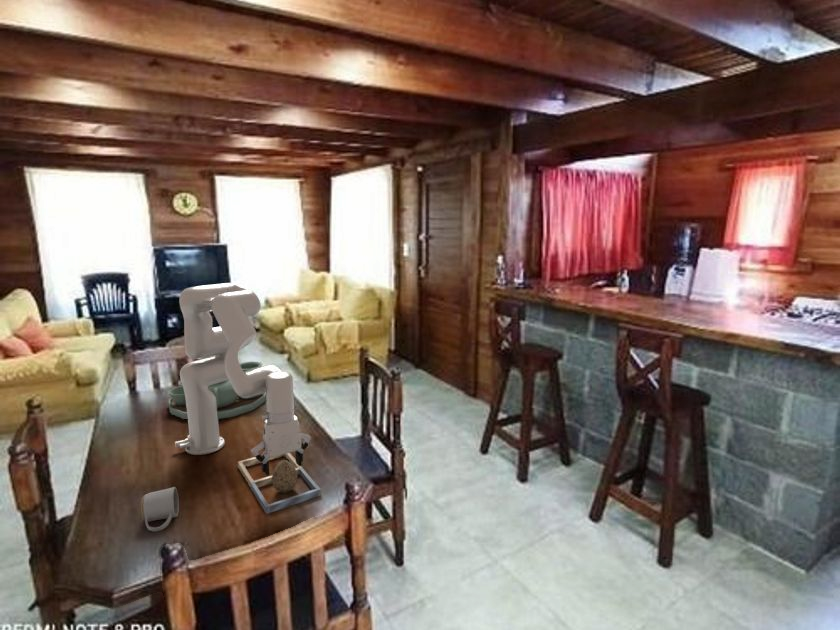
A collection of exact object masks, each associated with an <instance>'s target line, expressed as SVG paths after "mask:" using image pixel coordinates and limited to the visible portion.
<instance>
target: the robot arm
mask: <svg viewBox="0 0 840 630" xmlns="http://www.w3.org/2000/svg"><path fill="white" fill-rule="evenodd" d="M178 301H179V308H180V311H181V313H182V316H183V321H184V323H183V324H184V327H183V328H184V329H183V333H184V339H183V340H184V351H185V354H186V356H187V357H188V358H189V359H192V360H193V361H189V362H188V363H185V364H184V365H183V366H182V367H181V368H180V371H179V376H180V377H179V378H180V381H181V382H182V385H183V388H184V393H185V399H186V407H187V416H188V420H187V425H188V435H187V438H184V439H182V440H177V441H174V447H175V448H178V447H179V448H180V449H184V448H185V452H187V454H190V455H194V456H197V455H198V456H201V455H207V454H211V453H214V452H216V451H219V450H221V449H222V448H223V447H224V446H225V443H226V442H225V439H224V438H223V437H222V436H220V426H219V419H218V415H217V403H216V397H215V395H214V394H213V393H212V392H211V391H210V390H209V389H208V387H209V386H211V385H213V384H217V383H220V382H224V381H227V380H229V381H230V383H231V385H232V387H233V389H234V391H235V392H236V393H237V395H239V396H240V397H242V398H249V397H253V396H256V395H259V394H262V393H265V392H266V400H265V404H266V405H265V406H266V410H265V413H264V414H261V419H262V420H264V425H263V432H262V433H263V434H262V441H261V442H260V443H258V444H257V445H255V446H254V447H252V448H251V449H250V452H251V453H252V455H253V457H256V459H257V460H259V461H261V471H262V473H264V474H265V475H266V477H268V476H270V463H269V461H270V460H269V458H270V457H276V456H280V455H283V454H287V453H290V454H292V453H294V452H295V460H296V463H297V464H298V466H301V467H303V465H302V463H303V462H304V457H303V456H304V453H305V451H306V449H307V447H308V446H309V444H310V441H311V439H312V436H310V435H309V434H307V433H302V432H301V428H300V423H299V419H298V417H297V416H296V415H295V401H294V399H295V398H294V377H293V375H292V374H291V373H290V372H288V371H283V370H282V369H281V368H280V367H279V366H277V365H276V364H268V365H262V366H261V367H259V368H255V369H251V370H248V371H243V370H242V368H241V366H240V364H239V363H240V361H239V352H240V351H242V349H245V347H246V346H248V345H250V344H251V343H252V342H253V341H254V340H255V339H256V337H257V331H256V329H255V327H254V325H253V323H252V322H251V320H250V317H253V316H256V315H258V314H259V313H260V311H261V302H260V299H259V297H258V295H257V294H256V293H255V292H254V291H252V290H251V289H249V288H247V287H245V286H243V285H239V284H237V283H233V282H224V283H215V284H205V285H197V286H191V287H186V288H185V289H184V290H182V291H181V293H180V295H179V300H178ZM210 312H212V313H213V315H214V317H215V320H216V321H217V324H218V325H219V326H216V327H215V326H214V327H213V317H212V315H211V313H210ZM302 440H303V441H302ZM261 450H263V452H262V454H261V453H259V451H261Z"/></svg>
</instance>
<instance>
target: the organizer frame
mask: <svg viewBox="0 0 840 630" xmlns="http://www.w3.org/2000/svg"><path fill="white" fill-rule="evenodd" d="M282 456H283V457H285V458H286V460H287V459H288V460H289V461H288V460H287V461H288V462H290V463H291V464H292V465H293V466H294V468H295V470H296V472H297V476H300V477H301V478H302V479H303V480H304V482H305V483H306V484H307V485H308V486H309V488H310V489H311V490H308V491H306V492H302V493H299V494H296V495H293V496H290V497H288V498H284V499H281V500H279V501H275V502H272V503H268V502H267V500H266V499H265V497H264V495H263V494H262V492H261V490H260V489H259V488H260V487H265V486H267V485H271V484H273V483H272V475H268V476H266V477H262V478H259V479H253V478H252V475H250V473H249V470H248V469H247V467H250V466H254V465H257V464H262V462H261V461H259V460H257V459H256V457H255V456H253V457H250V458H246V459H243V460H239V461H237V467H238V469H239V471H240V473H241V474H242V476H243V478H244V477H245V478H244V479H245V481H246V483H247V482H248V483H247V485H249V488H250V487H251V488H250V489H251V491H252V492H253V494H254V495H255V496H254V497H255V498H256V499H257V501H258V502H259V504H260V506H261V507H262V509H263V511H264V513H265V514H266V515H267V514H271V513H273V512H276V511H279V510H282V509H286V508H287V507H291V506H294V505H297V504H300V503H303V502H306V501H308V500H312V499H315V498H318V497H321V496H322V489H321V488H320V487H319V485H318V484H317V483H316V481H314V479H312V478H313V477H311V476H310V475H309V474H308V472H307V471H306V470H305V469H304V468H303V466H298V464H297V463H296V457H294V456H293V455H292V453H287V454H283V455H280V456H276V457H270V458H269V460H268V461H271V460H276V459H279V458H282ZM275 458H276V459H275ZM246 466H247V467H246Z"/></svg>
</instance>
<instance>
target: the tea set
mask: <svg viewBox="0 0 840 630" xmlns="http://www.w3.org/2000/svg"><path fill="white" fill-rule="evenodd" d="M239 364H240V366H241V368H242V370H243V371H248V370H251V369H255V368H259V367H263V366H264V365H263V363H262V362H259V361H253V360H252V361H244V362H239ZM178 385H179V386H177V387H174V388H172V389H170V390H169V391H168V394H169V396H170V398H169V399H168V409H169V413H170V415H172V416H174V415H175V417H178V418H179V417H180V419H182V420H184V419H188V416H187V407H186V399H185V393H184V388H183V385H182V382H181V380H180V381H179V382H178ZM208 389H209V390H210V391H211V392H212V393H213V394H214V395H215V397H216V403H217V415H218V420H221V419H229V418H234V417H236V416H239V415H242V414H245V413H249V412H250V411H254V410H255V409H257V408H258V407H260V406H261V405H263V404H264V403H266V392H265V393H262V394H259V395H256V396H253V397H249V398H242V397H240V396H239V395H237V393H236V392H235V391H234V389H233V387H232V385H231V383H230V381H229V380H227V381H224V382H220V383H217V384H213V385H211V386H209V387H208Z"/></svg>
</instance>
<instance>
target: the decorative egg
mask: <svg viewBox="0 0 840 630" xmlns="http://www.w3.org/2000/svg"><path fill="white" fill-rule="evenodd" d="M271 476H272V483H271V484H272V485H273V488H274V489H275V490H276V491H277V492H278V493H282V494H286V493H289V492H291V491H292V490H293V489H294V488H295V487H296V485H297V482H298V475H297V472H296V470H295V468H294V466H293V465H292V464H291V463H290V462H289V461H288V460H287V459H283V460H281V461H280V462H278V464H277V465H276V466H275V468H274V470H273V472H272V475H271Z"/></svg>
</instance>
